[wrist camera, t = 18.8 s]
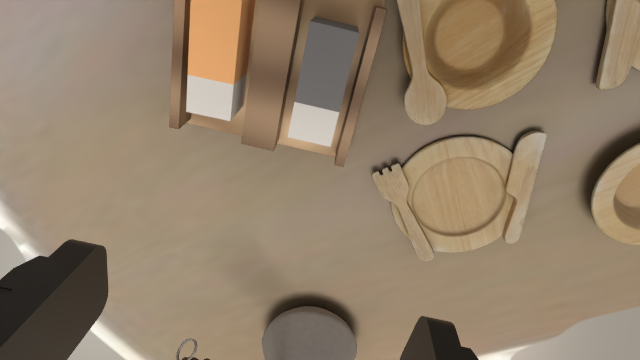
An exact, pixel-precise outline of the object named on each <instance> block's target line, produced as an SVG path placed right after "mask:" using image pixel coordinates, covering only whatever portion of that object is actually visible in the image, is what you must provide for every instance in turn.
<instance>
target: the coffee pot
mask: <svg viewBox="0 0 640 360" xmlns="http://www.w3.org/2000/svg"><path fill="white" fill-rule="evenodd" d="M191 340H192V341H194V344H195V348H194V352H193V353H192V355H191V356H190V357H188V358H187V357H184V358H183V359H182V360H198V359H197V358H193V356H194V354H195V353H196V349H197V342H196V341H195V340H194V339H186V340H185V341H184V342H183V343H182V344H181V346H180V347H179V349H178V351H177V355H176V358H177V360H179V352H180V350H181V348H182V347H183V345H184V344H185V343H186V342H187V341H191ZM262 345H263V353H264V357H265V360H354V359H355V357H356V352H357V343H356V340H355V336H354V334H353V332H352V331H351V329H350V328H349V326H348V325H347V323H346V322H345V321H344V320H342V319H341V318H340V317H339V316H337V315H336V314H334V313H332V312H330V311H328V310H326V309H324V308H320V307H316V306H303V307H298V308H294V309H291V310H288V311H285V312H283V313H282V314H280V315H279V316H277V317H276V318H275V319H274V320H273V321H272V322H271V323H270V324H269V326H268V327H267V328H266V330H265V332H264V335H263V338H262ZM204 360H210V359H204Z"/></svg>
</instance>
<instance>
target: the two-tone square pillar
mask: <svg viewBox="0 0 640 360" xmlns="http://www.w3.org/2000/svg"><path fill="white" fill-rule="evenodd" d="M358 36H359V30H358V27H357V26H353V25H349V24H345V23H341V22H336V21H332V20H328V19H324V18H320V17H316V16H315V17H314V18H313V19H312V20H311V21H310V24H309V29H308V34H307V39H306V45H305V50H304V55H303V60H302V65H301V70H300V76H299V81H298V86H297V91H296V96H295V101H294V106H293V112H292V117H291V122H290V127H289V132H288V137H289V138H294V139H298V140H302V141H307V142H311V143H315V144H320V145H324V146H328V147H331V143H332V139H333V135H334V131H335V127H336V123H337V119H338V115H339V112H340V108H341V104H342V100H343V96H344V92H345V88H346V84H347V80H348V76H349V72H350V68H351V64H352V60H353V56H354V52H355V48H356V44H357V40H358Z"/></svg>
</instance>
